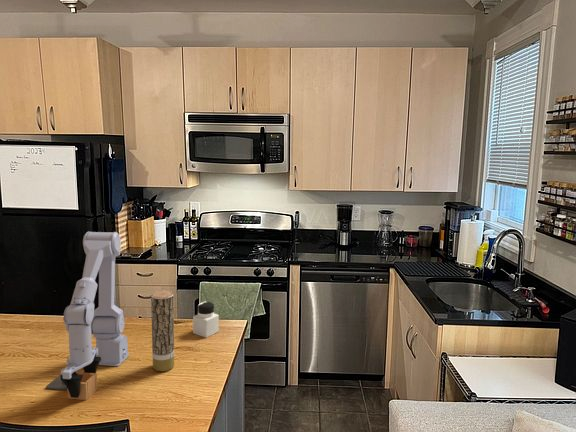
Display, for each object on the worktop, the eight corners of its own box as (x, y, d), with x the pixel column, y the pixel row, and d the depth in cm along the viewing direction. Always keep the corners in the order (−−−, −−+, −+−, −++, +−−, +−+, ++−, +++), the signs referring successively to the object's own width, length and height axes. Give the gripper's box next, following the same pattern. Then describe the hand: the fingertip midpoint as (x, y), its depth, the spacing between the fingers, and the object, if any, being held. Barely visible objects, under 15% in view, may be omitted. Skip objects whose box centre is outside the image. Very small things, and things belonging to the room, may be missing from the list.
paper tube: (154, 374, 134) (152, 298, 130) (151, 364, 140) (150, 291, 136) (175, 370, 137) (174, 296, 133) (172, 360, 143) (171, 289, 139)
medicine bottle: (219, 331, 167) (219, 302, 165) (206, 338, 161) (206, 308, 159) (205, 327, 170) (205, 298, 169) (192, 333, 164) (192, 304, 163)
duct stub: (87, 376, 132) (86, 363, 131) (71, 390, 124) (71, 377, 123) (62, 374, 132) (62, 361, 132) (46, 388, 124) (45, 375, 124)
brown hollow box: (97, 389, 125) (96, 373, 124) (86, 400, 119) (85, 383, 119) (79, 387, 125) (78, 372, 125) (67, 398, 120) (66, 382, 119)
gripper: (81, 333, 128) (83, 375, 130) (50, 356, 113) (53, 402, 115) (104, 334, 127) (105, 377, 129) (75, 357, 113) (78, 404, 115)
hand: (82, 389), depth 122 cm, fingers open, 7 cm apart
